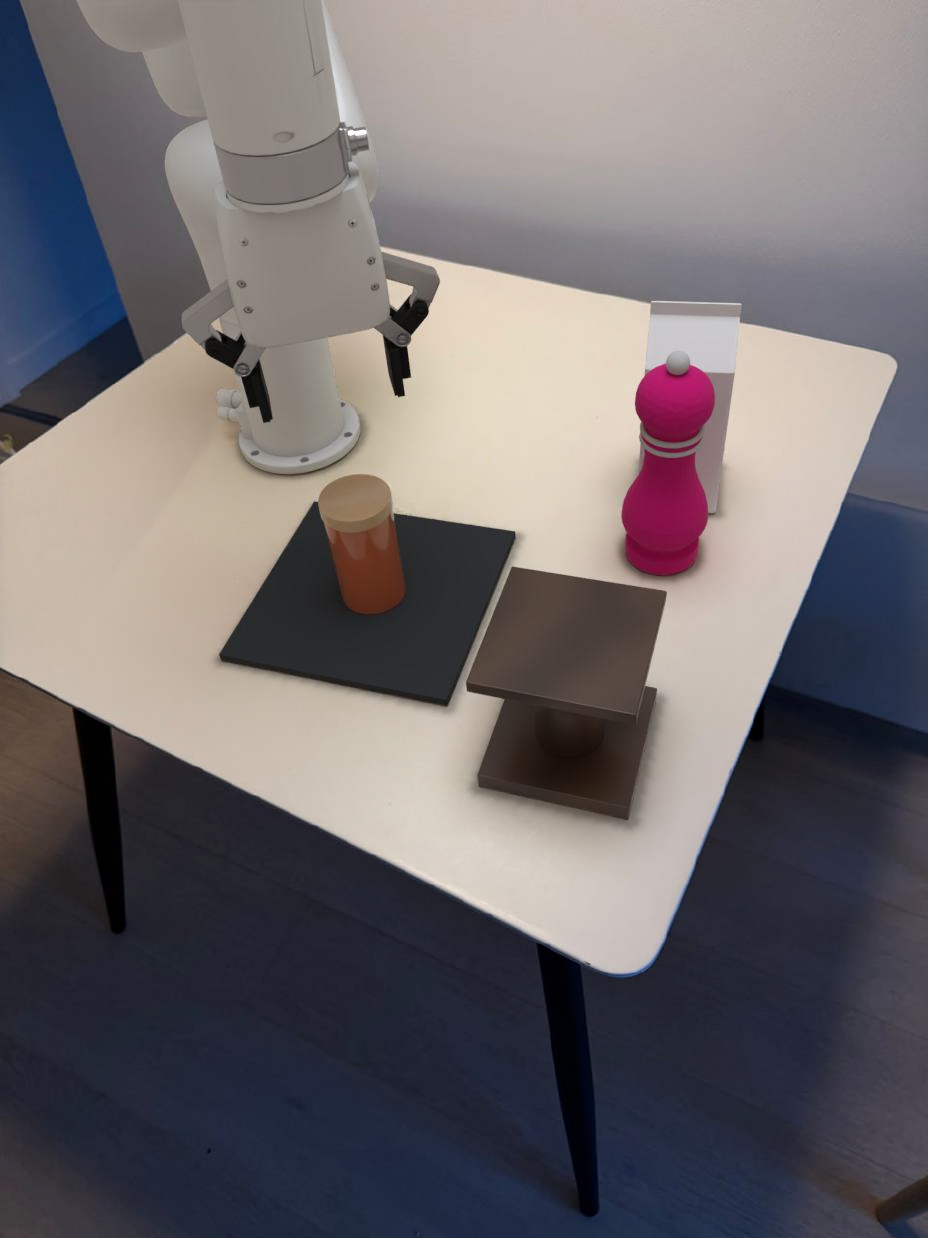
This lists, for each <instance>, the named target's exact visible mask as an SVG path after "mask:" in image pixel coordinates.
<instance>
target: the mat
mask: <svg viewBox="0 0 928 1238" xmlns="http://www.w3.org/2000/svg"><path fill="white" fill-rule="evenodd" d="M393 515H394V520H395V526H396V532H397V537H398V543H399V549H400V555H401V560H402V566H403V572H404V578H405V583H406V592H405V595H404V597H403V599H402V600H401V602H400V603H399V604H398V605H396V606H395V607H394V608H392V609H390V610H388V611H386V612H383V613H379V614H372V615H367V614H360V613H357V612H354V611H352V610H351V609H349V608H348V607H347V606H346V605H345V603H344V602H343V599H342V595H341V591H340V587H339V583H338V579H337V575H336V571H335V567H334V563H333V558H332V554H331V550H330V546H329V542H328V538H327V534H326V530H325V526H324V522H323V520H322V518H321V515H320V510H319V506H318V501H315V500H314V501H313V502H312V504H311V506H310V507H309V509H308V511H307V512H306V513H305V515H304V517H303V518H302V520H301V522H300V523H299V525H298V526H297V528H296V530H295V531H294V533H293V535H292V536H291V538H290V539H289V541H288V543H287V544H286V546H285V547H284V549H283V550H282V552H281V554H280V556H279V557H278V558H277V560H276V562H275V563H274V565H273V566H272V568H271V570H270V571H269V573H268V574H267V576H266V578H265V579H264V581H263V582H262V584H261V586H260V587H259V590H258V591H257V592H256V593H255V596H254V597H253V599H252V601H251V602H250V604H249V605H248V607H247V608H246V610H245V612H244V613H243V615H242V617H241V618H240V620H239V621H238V623H237V625H236V626H235V628H234V629H233V631H232V633H231V634H230V635H229V637H228V639H227V640H226V641H225V642H226V643H225V644H224V645H223V647H222V649H221V650H220V652H219V654H218V656H219V659H220V661H222V662H226V663H232V664H236V665H241V666H245V667H252V668H257V669H260V670H266V671H272V672H276V673H281V674H286V675H291V676H297V677H301V678H306V679H311V680H316V681H320V682H325V683H330V684H336V685H341V686H346V687H351V688H356V689H361V690H366V691H371V692H376V693H381V694H385V695H390V696H395V697H400V698H405V699H410V700H414V701H415V700H416V701H421V702H425V703H430V704H434V705H440V706H445V707H447V706H448V705H449V704H450V701H451V700H452V699H451V698H452V696H453V693H454V691H455V688H456V686H457V684H458V681H459V679H460V677H461V674H462V671H463V669H464V666H465V664H466V661H467V659H468V656H469V654H470V653H471V652H470V651H471V649H472V646H473V645H474V642H475V639H476V637H477V634H478V632H479V629H480V627H481V625H482V622H483V619H484V617H485V616H486V615H485V614H486V612H487V609H488V607H489V604H490V601H491V600H492V597H493V595H494V592H495V591H496V587H497V585H498V582H499V580H500V577H501V575H502V572H503V570H504V568H505V565H506V562H507V561H508V557H509V556H510V553H511V551H512V548H513V545H514V543H515V540H516V538H517V537H516V531H515V530H508V529H502V528H495V527H490V526H481V525H476V524H469V523H461V522H455V521H450V520H449V521H448V520H440V519H436V518H429V517H423V516H415V515H410V514H402V513H395V512H393Z"/></svg>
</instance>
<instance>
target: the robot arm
mask: <svg viewBox="0 0 928 1238" xmlns="http://www.w3.org/2000/svg"><path fill="white" fill-rule="evenodd" d="M75 2H76V3H77V5H78V7H79V10H80V11H81V13H82V15H83V17H84V19H85V21H86V23H87V24H88V26H89V27H90V28H91V30H92V31H93V32H94V34H95V35H96V36H97V37H98V38H99V39H100V40H101V41H102V42H103V43H105V44H106V45H108V46H109V47H111V48H113V49H115V50H119V51H121V52H126V53H142V55H143V58H144V62H145V64H146V67H147V70H148V72H149V74H150V77H151V79H152V82H153V85H154V87H155V89H156V91H157V93H158V95H159V96H160V98H161V99H162V101H163V103H164V104H165V105H166V106H167V107H168V108H169V109H170V110H171V111H172V112H174V113H175V114H177V115H179V116H182V117H189V118H202V117H206V118H207V119H205V120H204V119H203V120H201V121H198V122H196V123H193V124H191V125H189V126H187V127H186V128H184V129H182V130H180V131H179V132H178V133H177V134H176V135H175V136H174V137H173V138H172V139H171V141H170V142H169V144H168V146H167V148H166V151H165V155H164V170H165V176H166V180H167V183H168V187H169V190H170V193H171V195H172V198H173V201H174V203H175V205H176V207H177V209H178V212H179V213H180V215H181V218H182V221H183V222H184V225H185V227H186V229H187V231H188V234H189V236H190V238H191V241H192V242H193V246H194V248H195V251H196V253H197V255H198V258H199V260H200V263H201V267H202V270H203V272H204V275H205V279H206V281H207V283H208V284H207V285H208V287H209V290H210V291H209V292H207V293H206V294H205V295H204V296H202V297H201V298H199V299H198V300H197V301H195V303H193V304H192V305H191V306H189V307H188V308H186V309H185V310H184V311H183V312H182V313H181V327H182V329H183V331H184V332H185V333H186V334H188V335H189V337H190V338H191V339H193V341H194V342H195V343H197V344H198V346H201V347H202V348H203V349H204V350H205V353H206V355H207V356H209V358H212V359H214V360H215V361H217V362H219V363H221V364H223V365H225V366H227V367H229V368H230V369H232V370H233V373H234V377H235V380H236V383H237V386H238V390H239V391H238V390H237V389H236V390H234V389H226V388H219V389H218V390H217V392H216V397H215V400H216V405H217V406H218V408H217V410H216V417H217V419H218V420H220V421H227V422H236V423H237V424H238V425H240V430H239V433H238V445H239V447H240V448H239V449H240V451H241V454H242V456H243V457H244V459H245V460H246V461H247V462H248V463H249V464H250V465H251V466H253V467H255V468H256V469H259V470H262V471H264V472H268V473H273V474H280V475H283V474H284V475H296V474H305V473H309V472H313V471H317V470H319V469H322V468H326V467H327V466H330V465H332V464H334V463H335V462H337V461H339V460H341V459H342V458H343V457H345V456H346V455H347V454H348V453H349V452H350V451H352V449H353V448H354V446H356V444H357V442H358V441H359V438H360V435H361V429H362V428H361V422H360V417H359V415H358V412H357V410H355V408H354V407H353V405H351V404H350V403H349V402H347V401H345V400H343V399H341V398H340V392H339V388H338V382H337V378H336V374H335V369H334V364H333V358H332V354H331V348H330V345H329V340H328V338H333V337H337V336H344V335H349V334H355V333H359V332H363V331H367V330H371V329H374V330H375V331H377V332H378V333H379V334H380V335H382V339H383V341H382V342H383V346H384V352H385V359H386V367H387V372H388V378H389V381H390V384H391V387H392V391H393V394H394V396H395V397H397V398H401V397H405V396H406V393H405V384H404V380H406V379H411V378H412V372H411V371H412V370H411V365H410V356H409V350H408V348H409V347H408V346H409V345H410V344H411V342H412V335H413V334H414V333H415V331H417V329H418V328H419V327H420V326H421V325H422V323H423V322H424V321H425V320H426V318H427V317H428V315H429V314H430V306H431V305H432V303H433V301H434V299H435V295H436V294H437V291H438V290H439V286H440V283H441V279H440V276H439V274H438V270H437V269H436V268H435V267H434V266H431V265H428V264H425V263H421V262H418V261H414V260H411V259H408V258H405V257H402V256H398V255H394V254H391V253H387V252H384V251H382V250H381V249H382V248H381V244H380V239H379V236H378V230H377V226H376V222H375V217H374V214H373V211H372V206H371V202H372V201H373V200H374V198H375V197H376V195H377V191H378V189H379V188H378V187H379V177H380V176H379V167H378V161H377V160H378V159H377V155H376V151H375V147H374V144H373V140H372V137H371V134H370V131H369V127H368V124H367V121H366V118H365V115H364V112H363V109H362V106H361V103H360V101H359V97H358V94H357V91H356V88H355V85H354V81H353V79H352V76H351V73H350V70H349V67H348V64H347V61H346V58H345V55H344V51H343V49H342V45H341V43H340V40H339V37H338V33H337V31H336V27H335V24H334V21H333V19H332V16H331V15H330V12H329V9H328V7H327V5H326V2H325V0H75ZM388 281H392V282H395V283H399V284H403V285H405V286H406V285H407V286H409V287H412V289H411V293H410V294H409V295H408V297H407V298H406V299H405V301H403V303H402V304H401V305H400V306H399V308H398V309H397V308H396V307H395V306H393V305H392V304H391V302H390V294H389V293H390V292H389V287H388ZM216 320H219V325H220V328H221V331H219V330H218V329H215V328H214V326H213V325H212V323H214V322H215V321H216Z"/></svg>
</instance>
